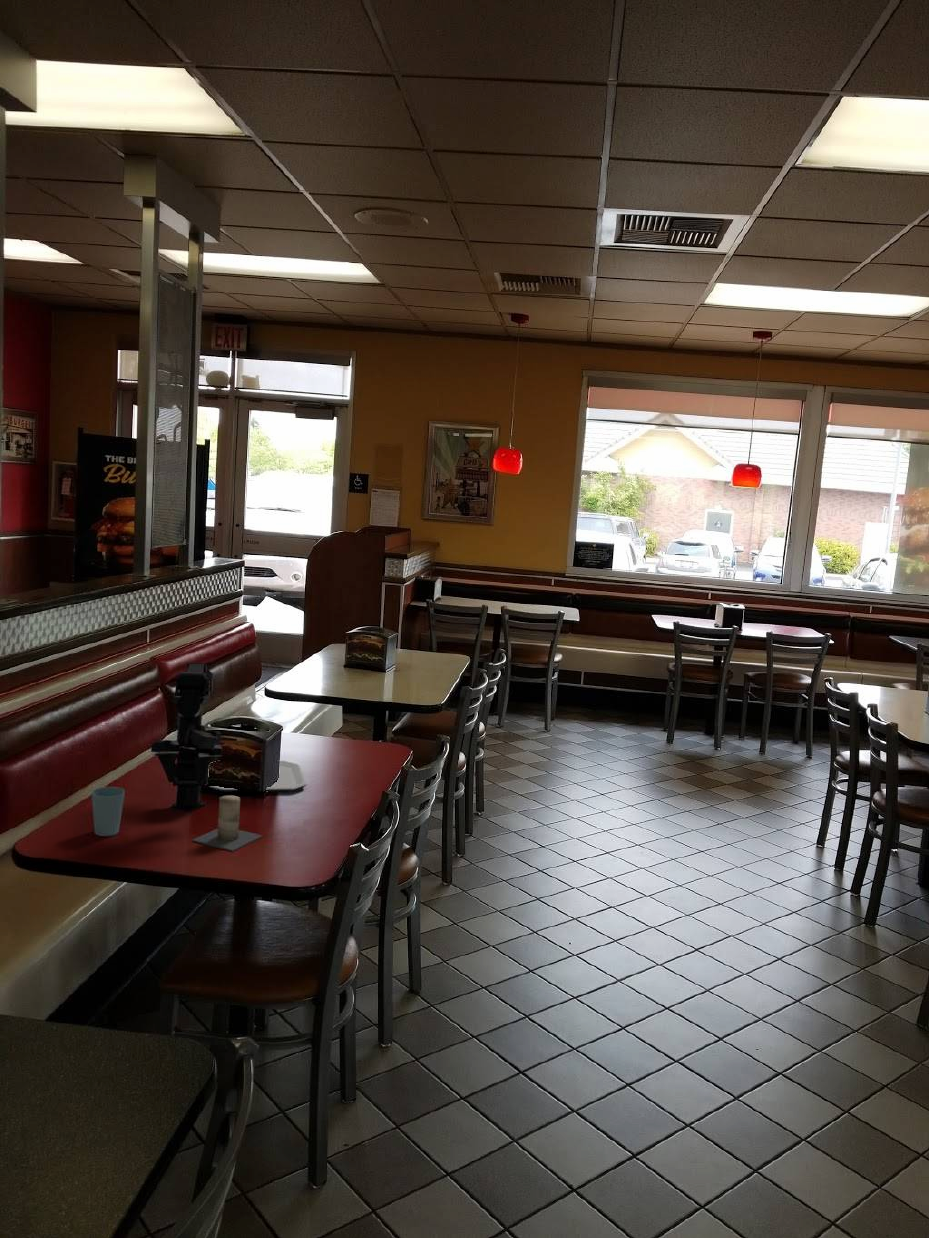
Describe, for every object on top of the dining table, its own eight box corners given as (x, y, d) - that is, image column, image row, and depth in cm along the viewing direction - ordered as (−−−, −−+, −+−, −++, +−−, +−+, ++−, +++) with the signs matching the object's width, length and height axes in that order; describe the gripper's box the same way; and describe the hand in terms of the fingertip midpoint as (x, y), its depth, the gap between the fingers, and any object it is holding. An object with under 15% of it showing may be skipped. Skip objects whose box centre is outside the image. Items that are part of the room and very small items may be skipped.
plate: (205, 796, 268) (205, 788, 267) (204, 767, 295) (204, 760, 295) (308, 795, 276) (308, 788, 275) (297, 767, 303) (298, 760, 303)
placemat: (223, 827, 244) (223, 825, 244) (262, 837, 239) (262, 835, 239) (192, 841, 233) (192, 839, 233) (232, 851, 228) (233, 850, 228)
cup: (123, 826, 239) (124, 786, 238) (123, 837, 232) (125, 795, 231) (91, 827, 237) (92, 787, 235) (90, 838, 229) (91, 797, 228)
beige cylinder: (219, 833, 238) (221, 794, 237) (240, 834, 239) (242, 796, 237) (215, 840, 233) (217, 801, 232) (235, 841, 234) (237, 802, 232)
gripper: (182, 716, 231) (178, 781, 228) (239, 723, 246) (235, 784, 243) (152, 718, 237) (147, 781, 234) (209, 725, 252) (205, 784, 249)
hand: (185, 783), depth 240 cm, fingers open, 9 cm apart
